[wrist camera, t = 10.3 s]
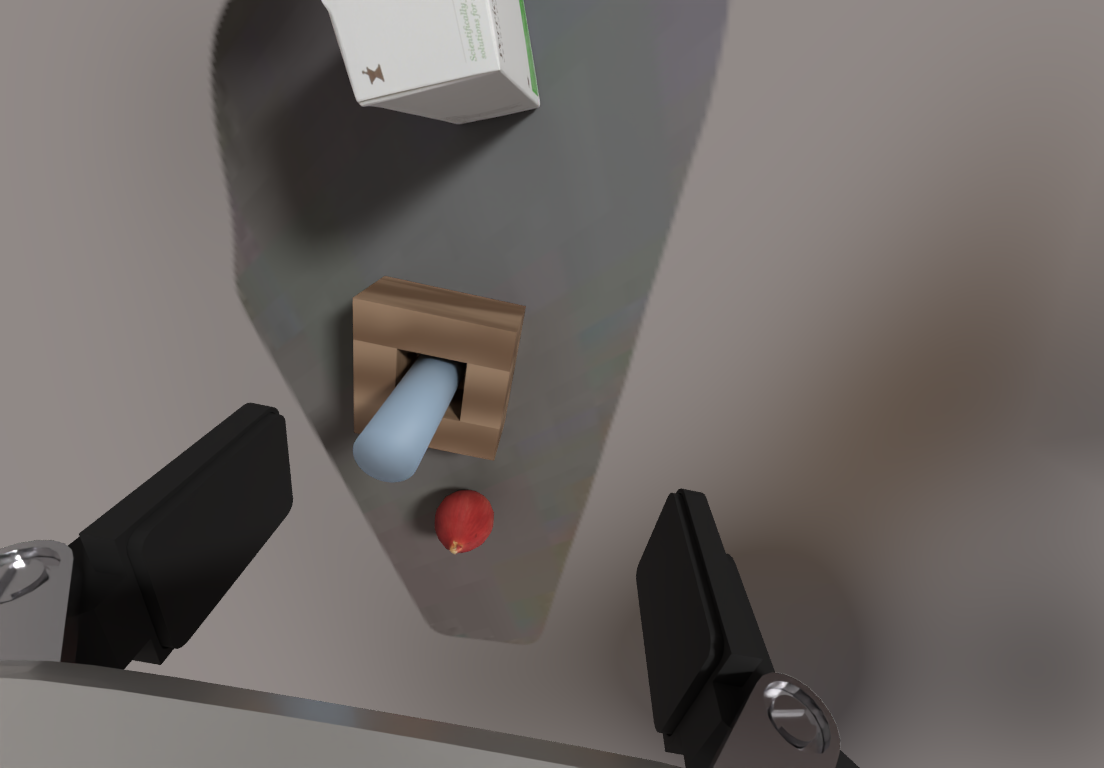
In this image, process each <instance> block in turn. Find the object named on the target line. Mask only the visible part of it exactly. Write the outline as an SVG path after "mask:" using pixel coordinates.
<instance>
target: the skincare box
mask: <svg viewBox="0 0 1104 768" xmlns="http://www.w3.org/2000/svg"><path fill="white" fill-rule="evenodd" d="M321 1H322V3H323V4H324V6H325V7H326V9H327V10H328V12H329V16H330V19H331V22H332V25H333V29H334V32H335V35H336V38H337V42H338V45H339V48H340V51H341V54H342V57H343V60H344V63H345V67H346V70H347V73H348V76H349V80H350V83H351V86H352V89H353V92H354V95H355V98H356V100H357V102H358V103H359V104H360V105H361V106H362V107H365V106H374V107H381V108H386V109H390V110H395V111H399V112H404V113H409V114H414V115H418V116H423V117H427V118H432V119H437V120H442V121H446V122H450V123H454V124H463V123H469V122H474V121H479V120H484V119H489V118H494V117H499V116H503V115H508V114H512V113H517V112H522V111H526V110H531V109H535V108H538V107H539V106H540V100H539V94H538V87H537V81H536V74H535V68H534V62H533V56H532V50H531V43H530V37H529V31H528V25H527V19H526V14H525V8H524V1H523V0H321Z"/></svg>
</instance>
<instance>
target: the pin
mask: <svg viewBox="0 0 1104 768" xmlns="http://www.w3.org/2000/svg"><path fill="white" fill-rule="evenodd" d="M466 369H467V363H464V362H459V361H454V360H450V359H445V358H440V357H435V356H430V355H426V354H420V356H419V357H418V358H417V360H416V361H415V362H414V364H413V365H412V366H411V368H410V369H409V370H408V372H407V373H406V374H405V376H404V377H403V378H402V380H401V381H400V382H399V384H398V385H397V386H396V388H395V389H394V390H393V391H392V393H391V394H390V395H389V397H388V398H387V399H386V401H385V402H384V403H383V405H382V406H381V407H380V409H379V410H378V411H377V413H376V414H375V415H374V417H373V418H372V419H371V421H370V422H369V423H368V425H367V426H366V427H365V429H364V430H363V431H362V433H361V434H360V435H359V437H358V438H357V439H356V441H355V443H354V446H353V455H354V458H355V461H356V462H357V464H358V466H359V467H360V468H361V469H362V470H363V471H364V472H365V473H367V474H368V475H369V476H371V477H373V478H375V479H378V480H380V481H384V482H400V481H404V480H406V479H408V478H410V477H411V476H412V475H413V474H414V473H415V471H416V469H417V467H418V465H419V463H420V461H421V459H422V457H423V455H424V453H425V451H426V450H427V448H428V446H429V444H430V442H431V440H432V438H433V436H434V434H435V432H436V430H437V428H438V426H439V424H440V422H441V420H442V418H443V416H444V414H445V412H446V410H447V408H448V406H449V404H450V402H451V400H452V398H453V396H454V394H455V392H456V390H457V388H458V386H459V384H460V382H461V380H462V378H463V376H464V374H465V372H466Z"/></svg>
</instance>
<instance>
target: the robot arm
mask: <svg viewBox="0 0 1104 768" xmlns="http://www.w3.org/2000/svg"><path fill="white" fill-rule="evenodd" d="M292 503H293V495H292V485H291V474H290V464H289V454H288V444H287V434H286V424H285V418H284V417H283V416H282V415H279V411H278V410H277V409H276V408H274V407H269V406H265V405H260V404H255V403H247V404H245V405H243V406H242V407H241V408H239V409H238V410H237V411H236V412H234V413H233V414H232V415H231V416H229V417H228V418H227V419H225V420H224V421H223V422H221V423H220V424H219V425H218V426H216V427H215V428H214V429H213V430H211V431H210V432H209V433H207V434H206V435H205V436H204V437H202V438H201V439H200V440H198V441H197V442H196V443H195V444H193V445H192V446H191V447H189V448H188V449H187V450H186V451H184V452H183V453H182V454H181V455H179V456H178V457H177V458H175V459H174V460H173V461H171V462H170V463H169V464H168V465H166V466H165V467H164V468H162V469H161V470H160V471H159V472H157V473H156V474H155V475H153V476H152V477H151V478H150V479H148V480H147V481H146V482H145V483H143V484H142V485H141V486H139V487H138V488H137V489H136V490H134V491H133V492H132V493H131V494H129V495H128V496H127V497H125V498H124V499H123V500H121V501H120V502H119V503H118V504H116V505H115V506H114V507H113V508H111V509H110V510H109V511H107V512H106V513H105V514H104V515H102V516H101V517H100V518H98V519H97V520H96V521H95V522H93V523H92V524H91V525H89V526H88V527H87V528H86V529H84V530H83V531H82V532H80V533H79V535H80V537H78V538H77V539H76V540H75V541H73V542H72V543H71V544H69V545H68V546H67V545H66V544H64V543H61V542H57V541H54V540H34V541H29V542H23V543H17V544H14V545H11V546H8V547H4V548H1V549H0V768H681V767H677V766H674V765H669V764H666V763H662V762H657V761H652V760H647V759H642V758H637V757H632V756H626V755H621V754H617V753H611V752H606V751H601V750H596V749H591V748H586V747H581V746H575V745H569V744H564V743H558V742H552V741H547V740H541V739H535V738H530V737H524V736H518V735H513V734H507V733H501V732H496V731H490V730H484V729H479V728H473V727H467V726H462V725H456V724H450V723H444V722H438V721H432V720H427V719H421V718H415V717H410V716H404V715H398V714H392V713H386V712H380V711H375V710H368V709H363V708H357V707H351V706H345V705H339V704H333V703H327V702H322V701H316V700H310V699H304V698H298V697H292V696H286V695H280V694H274V693H268V692H262V691H255V690H249V689H243V688H237V687H232V686H225V685H219V684H213V683H207V682H201V681H195V680H189V679H183V678H177V677H170V676H163V675H156V674H150V673H143V672H136V671H129V670H124V669H125V668H126V666H127V665H128V664H129V663H130V662H131V661H132V660H135V661H141V662H147V663H152V664H158V665H161V664H162V663H163V662H164V660H165V659H166V658H167V656H168V655H169V654H170V653H171V652H172V650H173V649H174V648H176V649H178V648H180V647H182V646H183V645H185V644H186V643H187V642H188V640H189V639H190V638H191V637H192V636H193V634H194V633H195V632H196V630H197V629H198V628H199V626H200V625H201V624H202V623H203V621H204V620H205V619H206V618H207V616H208V615H209V614H210V613H211V611H212V610H213V609H214V607H215V606H216V605H217V604H218V603H219V601H220V600H221V599H222V597H223V596H224V595H225V594H226V592H227V591H228V590H229V589H230V587H231V586H232V585H233V583H234V582H235V581H236V580H237V578H238V577H239V576H240V575H241V573H242V572H243V571H244V570H245V568H246V567H247V566H248V564H249V563H250V562H251V561H252V559H253V558H254V557H255V556H256V554H257V553H258V552H259V550H260V549H261V548H262V547H263V545H264V544H265V543H266V542H267V540H268V539H269V538H270V536H271V535H272V534H273V532H274V531H275V530H276V529H277V528H278V526H279V525H280V524H281V522H282V521H283V520H284V519H285V517H286V516H287V515H288V513H289V511H290V509H291V507H292ZM636 581H637V589H638V598H639V606H640V614H641V622H642V630H643V637H644V646H645V654H646V662H647V670H648V678H649V686H650V694H651V702H652V710H653V718H654V724H655V728H656V730H657V732H659V733H663V738H664V745H665V751H666V752H670V753H676V754H682V755H684V760H685V766H686V768H859V767H858V766H857V765H856V764H855V763H854V762H853V761H852V760H850V759H849V758H848V757H847V756H846V755H845V754H844V753H843V752H842V751H841V750H840V741H841V740H840V736H839V732H838V728H837V725H836V723H835V721H834V719H833V717H832V715H831V713H830V711H829V710H828V708H827V707H826V706H825V704H824V703H823V702H822V700H821V699H820V698H819V697H818V696H817V695H816V694H815V693H814V692H813V691H812V690H811V689H810V688H809V687H808V686H806V685H805V684H803V683H802V682H800V681H799V680H797V679H796V678H794V677H791V676H788V675H786V674H783V673H775V671H774V668H773V665H772V663H771V660H770V657H769V654H768V652H767V649H766V646H765V643H764V641H763V638H762V635H761V632H760V630H759V627H758V624H757V621H756V619H755V616H754V614H753V610H752V608H751V605H750V602H749V600H748V597H747V594H746V591H745V589H744V586H743V583H742V580H741V578H740V575H739V572H738V570H737V567H736V564H735V562H734V560H733V558H732V557H731V556H730V555H729V554H726V553H725V550H724V547H723V544H722V541H721V538H720V536H719V533H718V530H717V527H716V524H715V521H714V518H713V516H712V513H711V510H710V507H709V505H708V501H707V499H706V496H705V494H703V493H701V492H696V491H691V490H686V489H679V490H678V491H677V492H676V494H675V493H670V494H669V496H668V498H667V500H666V502H665V505H664V507H663V509H662V512H661V514H660V516H659V519H658V521H657V523H656V525H655V528H654V530H653V532H652V535H651V537H650V539H649V541H648V544H647V546H646V548H645V551H644V553H643V555H642V558H641V560H640V562H639V565H638V568H637V574H636Z"/></svg>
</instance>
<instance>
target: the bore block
mask: <svg viewBox="0 0 1104 768" xmlns="http://www.w3.org/2000/svg"><path fill="white" fill-rule="evenodd" d="M525 308H526V306H522V305H518V304H513V303H508V302H504V301H499V300H494V299H490V298H485V297H480V296H476V295H471V294H466V293H462V292H457V291H452V290H448V289H443V288H438V287H434V286H429V285H424V284H420V283H415V282H410V281H406V280H401V279H396V278H392V277H387V276H384V277H383V278H381V279H380V280H378V281H377V282H375V283H374V284H372V285H371V286H369V287H368V288H367V289H365V290H364V291H362V292H361V293H359V294H358V295H356V296H355V297H353V371H354V433H358V434H361V433H362V431H363V430H364V429H365V427H366V426H367V425H368V423H369V422H370V421H371V419H372V418H373V417H374V415H375V414H376V413H377V411H378V410H379V409H380V407H381V406H382V405H383V403H384V402H385V401H386V399H387V398H388V397H389V395H390V394H391V393H392V391H393V390H394V389H395V388H396V386H397V385H398V384H399V382H400V381H401V380H402V378H403V377H404V376H405V374H406V373H407V372H408V370H409V369H410V368H411V366H412V365H413V364H414V362H415V361H416V360H417V358H418V357H419V356H420V354H426V355H430V356H435V357H440V358H445V359H450V360H454V361H459V362H464V363H467V369H466V372H465V374H464V376H463V378H462V380H461V382H460V384H459V386H458V388H457V390H456V392H455V394H454V396H453V398H452V400H451V402H450V404H449V406H448V408H447V410H446V412H445V414H444V416H443V418H442V420H441V422H440V424H439V426H438V428H437V430H436V432H435V434H434V436H433V438H432V440H431V442H430V444H429V446H428V448H433V449H438V450H443V451H448V452H454V453H459V454H464V455H469V456H474V457H479V458H484V459H489V460H494V459H495V455H496V452H497V448H498V444H499V441H500V437H501V434H502V430H503V426H504V423H505V417H506V412H507V406H508V401H509V395H510V390H511V385H512V379H513V374H514V368H515V363H516V357H517V352H518V346H519V341H520V335H521V330H522V325H523V319H524V314H525Z"/></svg>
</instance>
